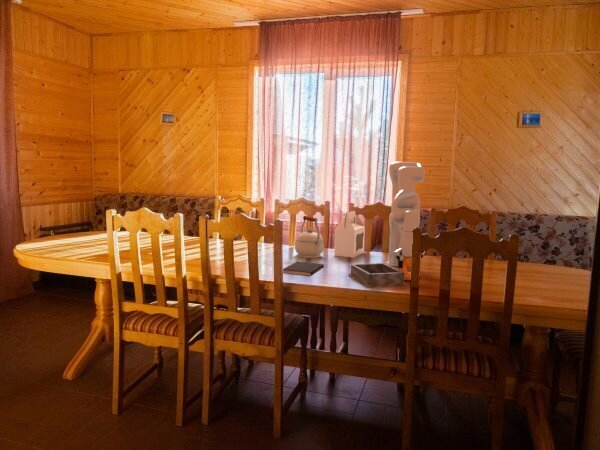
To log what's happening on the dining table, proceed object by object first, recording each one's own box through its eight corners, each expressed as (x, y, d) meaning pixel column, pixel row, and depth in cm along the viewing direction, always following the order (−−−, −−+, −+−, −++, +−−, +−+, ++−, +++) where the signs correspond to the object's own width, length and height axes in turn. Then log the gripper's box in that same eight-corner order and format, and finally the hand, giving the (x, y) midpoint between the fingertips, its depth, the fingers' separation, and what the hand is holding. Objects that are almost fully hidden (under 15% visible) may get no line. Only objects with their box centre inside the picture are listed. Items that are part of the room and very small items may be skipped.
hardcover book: (282, 273, 247) (282, 269, 246) (297, 265, 268) (297, 261, 268) (310, 276, 241) (310, 272, 241) (323, 268, 263) (323, 264, 262)
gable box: (345, 250, 317) (346, 209, 313) (364, 252, 311) (365, 210, 308) (333, 255, 297) (335, 212, 293) (353, 257, 291) (355, 213, 288)
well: (383, 274, 249) (383, 262, 248) (405, 285, 226) (406, 273, 225) (348, 275, 243) (349, 264, 242) (368, 287, 220) (368, 274, 219)
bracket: (413, 282, 233) (414, 258, 232) (399, 280, 236) (400, 257, 234) (416, 277, 243) (418, 255, 242) (402, 276, 246) (403, 253, 244)
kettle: (288, 253, 299) (289, 215, 296) (313, 252, 307) (314, 214, 304) (307, 261, 277) (308, 219, 274) (333, 259, 286) (334, 218, 282)
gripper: (421, 233, 243) (419, 265, 244) (391, 233, 238) (390, 266, 240) (429, 235, 235) (427, 268, 237) (398, 235, 230) (397, 269, 232)
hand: (408, 267), depth 238 cm, fingers open, 9 cm apart
